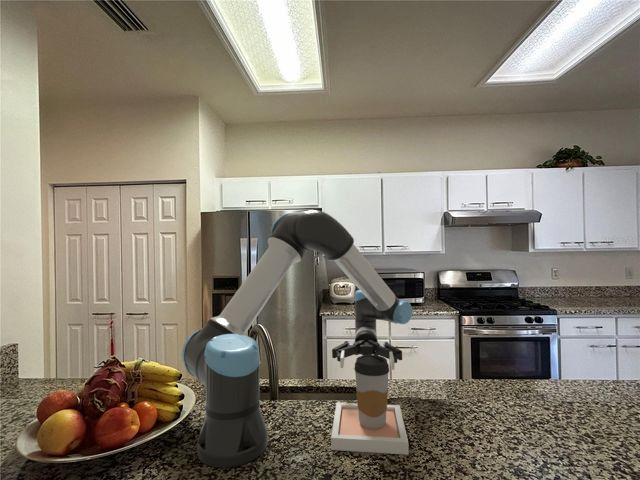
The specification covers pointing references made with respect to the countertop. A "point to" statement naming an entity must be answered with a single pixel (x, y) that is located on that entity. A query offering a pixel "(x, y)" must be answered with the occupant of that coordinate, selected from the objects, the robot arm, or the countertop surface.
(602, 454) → the countertop surface
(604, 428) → the countertop surface
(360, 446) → the button housing
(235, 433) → the robot arm
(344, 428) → the button
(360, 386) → the coffee cup
